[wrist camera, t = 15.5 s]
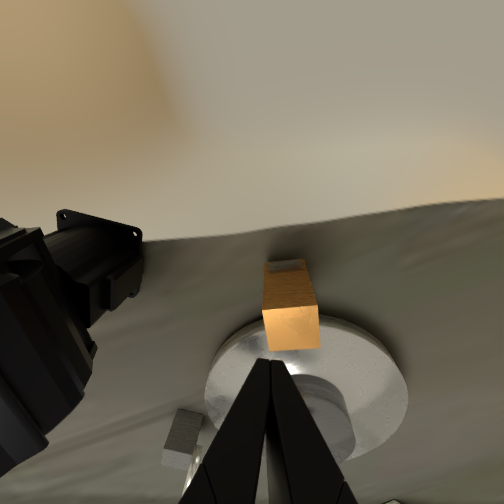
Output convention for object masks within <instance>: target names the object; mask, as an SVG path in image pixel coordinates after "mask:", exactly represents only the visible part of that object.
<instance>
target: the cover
mask: <svg viewBox="0 0 504 504" xmlns="http://www.w3.org/2000/svg"><path fill="white" fill-rule="evenodd" d="M291 376H292V378H293V380H294V382H295V384H296V386H297V388H298V390H299V392H300V394H301V395H302V397H303V399H304V401H305V403H306V405H307V407H308V409H309V411H310V413H311V415H312V417H313V418H314V420H315V422H316V424H317V426H318V428H319V430H320V432H321V434H322V436H323V438H324V440H325V441H326V443H327V445H328V447H329V449H330V451H331V453H332V455H333V457H334V459H335V461H336V463H337V464H340V463H342V462H344V461H345V460H346V459H347V458H348V457H349V456H350V455H351V454H352V452H353V451H354V448H355V445H356V438H355V434H354V431H353V427H352V424H351V421H350V417H349V414H348V410H347V407H346V403H345V400H344V397H343V395H342V393H341V392H340V390H339V389H338V388H337V387H336V386H335V385H333V384H332V383H331V382H329V381H327V380H325V379H323V378H320V377H317V376H313V375H306V374H292V375H291ZM262 457H263V458H264V459H266V443H265V439H264V445H263V452H262Z"/></svg>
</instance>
